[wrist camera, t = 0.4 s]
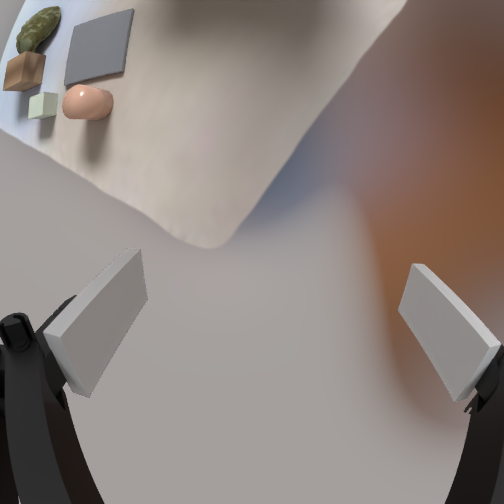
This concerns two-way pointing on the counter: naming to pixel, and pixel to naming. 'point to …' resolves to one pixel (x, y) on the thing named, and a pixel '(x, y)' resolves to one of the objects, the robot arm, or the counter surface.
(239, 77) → the counter surface
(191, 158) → the counter surface
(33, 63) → the walnut cube
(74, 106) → the pink glossy pebble
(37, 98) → the sage block
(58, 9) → the seashell
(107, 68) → the coaster
